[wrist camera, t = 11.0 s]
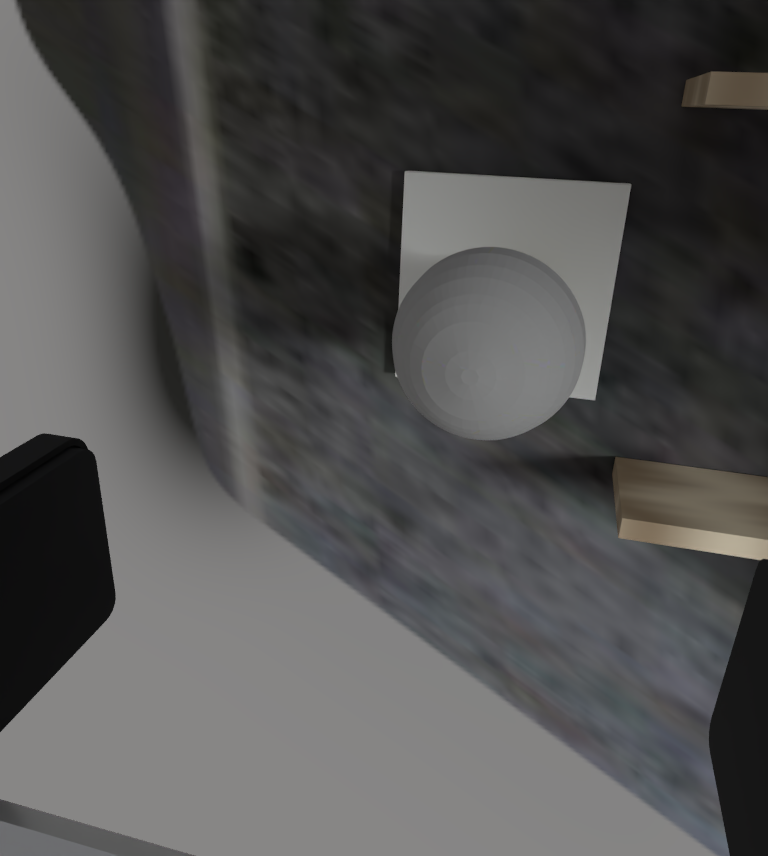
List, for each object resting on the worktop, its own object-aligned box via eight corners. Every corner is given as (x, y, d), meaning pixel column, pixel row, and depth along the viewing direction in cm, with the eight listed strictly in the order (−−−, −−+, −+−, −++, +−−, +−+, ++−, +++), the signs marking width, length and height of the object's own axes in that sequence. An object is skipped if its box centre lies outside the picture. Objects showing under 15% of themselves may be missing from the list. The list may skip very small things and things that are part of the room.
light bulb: (426, 243, 27) (335, 310, 18) (567, 189, 25) (540, 236, 16) (474, 373, 29) (411, 491, 20) (611, 333, 27) (608, 446, 18)
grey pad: (630, 183, 25) (631, 184, 25) (594, 395, 28) (594, 400, 28) (407, 170, 27) (404, 171, 26) (398, 372, 30) (395, 376, 30)
